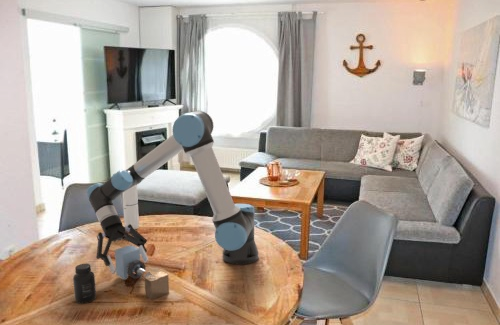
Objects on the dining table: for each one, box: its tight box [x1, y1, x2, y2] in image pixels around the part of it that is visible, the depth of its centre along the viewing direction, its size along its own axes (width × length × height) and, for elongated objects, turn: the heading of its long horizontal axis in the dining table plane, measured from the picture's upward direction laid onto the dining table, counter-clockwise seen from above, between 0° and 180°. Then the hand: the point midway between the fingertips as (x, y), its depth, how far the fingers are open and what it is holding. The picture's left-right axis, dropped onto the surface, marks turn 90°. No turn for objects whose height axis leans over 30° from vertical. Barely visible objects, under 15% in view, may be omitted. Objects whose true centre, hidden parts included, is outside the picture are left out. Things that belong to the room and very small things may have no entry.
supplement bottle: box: [72, 263, 97, 304], centre depth 143 cm, size 7×7×12 cm
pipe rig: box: [127, 263, 170, 301], centre depth 153 cm, size 25×7×7 cm, turn 45°
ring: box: [127, 260, 146, 279], centre depth 155 cm, size 2×6×6 cm, turn 135°
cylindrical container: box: [121, 184, 140, 230], centre depth 211 cm, size 7×7×25 cm
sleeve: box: [114, 244, 141, 281], centre depth 159 cm, size 6×7×10 cm
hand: (131, 266), depth 158 cm, fingers open, 13 cm apart
